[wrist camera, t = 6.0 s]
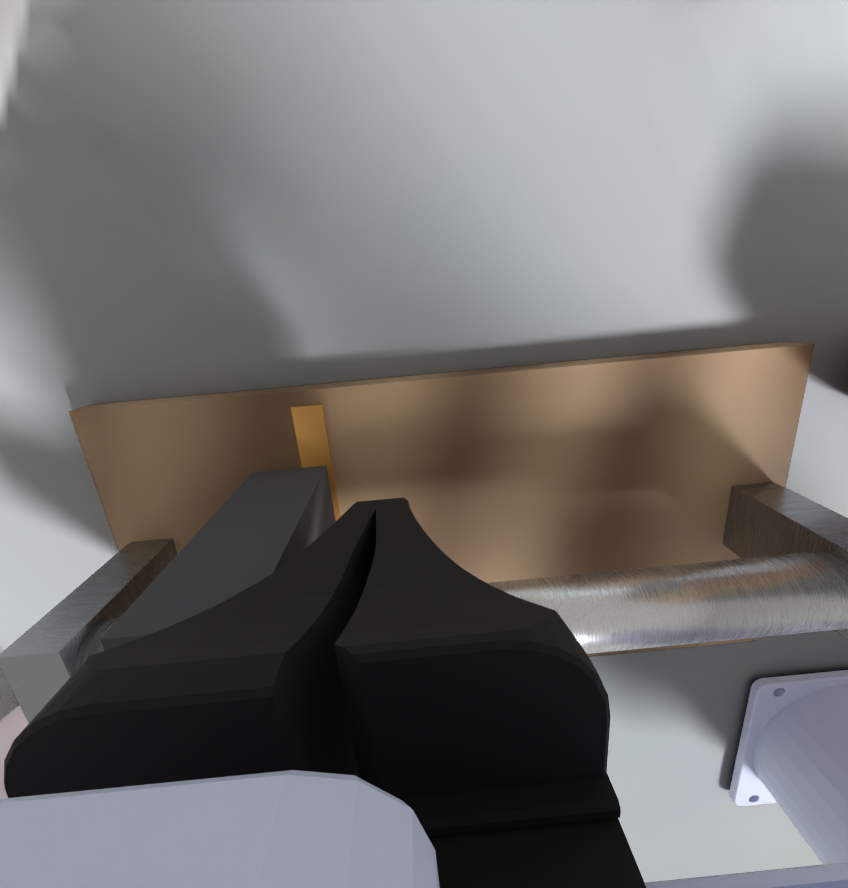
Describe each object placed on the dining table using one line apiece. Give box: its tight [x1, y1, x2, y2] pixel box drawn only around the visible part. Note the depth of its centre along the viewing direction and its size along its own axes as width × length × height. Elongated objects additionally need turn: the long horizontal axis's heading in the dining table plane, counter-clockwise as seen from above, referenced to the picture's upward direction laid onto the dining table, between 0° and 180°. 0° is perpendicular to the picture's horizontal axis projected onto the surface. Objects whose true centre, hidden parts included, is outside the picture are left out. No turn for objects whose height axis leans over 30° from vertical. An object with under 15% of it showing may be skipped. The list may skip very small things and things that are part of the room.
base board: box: [69, 341, 814, 657], centre depth 16 cm, size 24×12×1 cm, turn 95°
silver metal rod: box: [0, 482, 848, 723], centre depth 13 cm, size 23×2×5 cm, turn 95°
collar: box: [100, 466, 336, 651], centre depth 12 cm, size 2×7×7 cm, turn 5°
